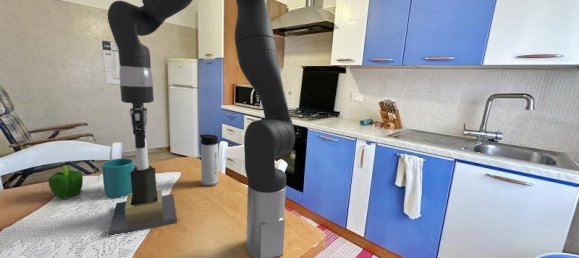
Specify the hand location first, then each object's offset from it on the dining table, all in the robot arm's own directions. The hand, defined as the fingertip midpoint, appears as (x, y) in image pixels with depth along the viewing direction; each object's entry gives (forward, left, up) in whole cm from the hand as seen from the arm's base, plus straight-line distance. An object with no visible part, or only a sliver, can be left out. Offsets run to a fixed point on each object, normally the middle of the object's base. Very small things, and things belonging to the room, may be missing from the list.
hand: (141, 145), depth 69 cm
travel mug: (+16, -21, -22) cm, 34 cm away
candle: (0, 0, -20) cm, 20 cm away
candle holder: (0, 0, -22) cm, 22 cm away
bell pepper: (+23, +23, -22) cm, 39 cm away
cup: (+20, +7, -22) cm, 31 cm away
